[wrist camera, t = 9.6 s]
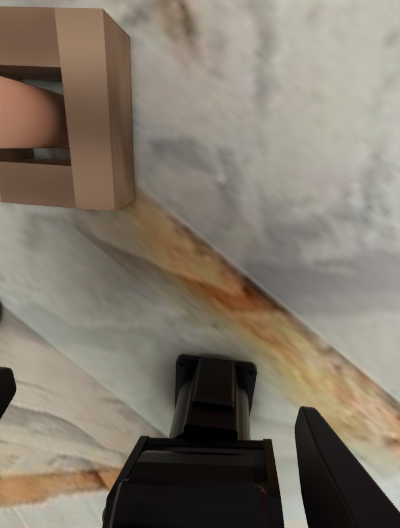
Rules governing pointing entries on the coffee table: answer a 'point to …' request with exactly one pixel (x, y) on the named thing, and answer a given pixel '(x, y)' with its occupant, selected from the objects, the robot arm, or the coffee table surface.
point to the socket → (72, 107)
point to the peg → (31, 117)
